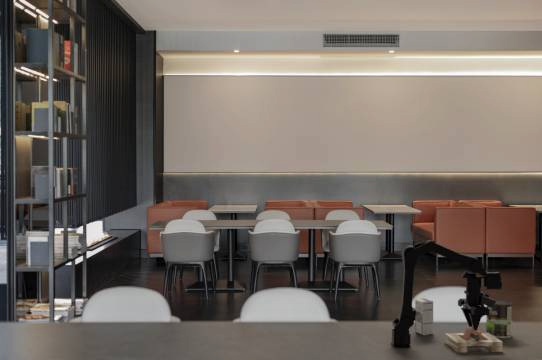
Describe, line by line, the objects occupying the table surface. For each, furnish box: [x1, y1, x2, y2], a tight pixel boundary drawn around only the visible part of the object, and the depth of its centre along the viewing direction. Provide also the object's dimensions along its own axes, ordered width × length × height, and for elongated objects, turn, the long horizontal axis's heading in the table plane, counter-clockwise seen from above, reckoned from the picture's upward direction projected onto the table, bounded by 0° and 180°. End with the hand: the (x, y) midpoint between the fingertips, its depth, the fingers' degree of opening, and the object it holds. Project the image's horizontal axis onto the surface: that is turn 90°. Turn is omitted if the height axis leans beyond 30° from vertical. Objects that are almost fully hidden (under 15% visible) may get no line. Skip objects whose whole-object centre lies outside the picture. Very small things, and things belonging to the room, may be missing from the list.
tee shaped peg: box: [463, 325, 483, 340], centre depth 258 cm, size 6×3×7 cm, turn 94°
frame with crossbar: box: [444, 332, 504, 354], centre depth 258 cm, size 18×14×6 cm
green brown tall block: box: [485, 299, 513, 339], centre depth 277 cm, size 10×10×14 cm
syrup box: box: [414, 298, 434, 336], centre depth 279 cm, size 6×6×14 cm
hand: (473, 328), depth 258 cm, fingers open, 5 cm apart
